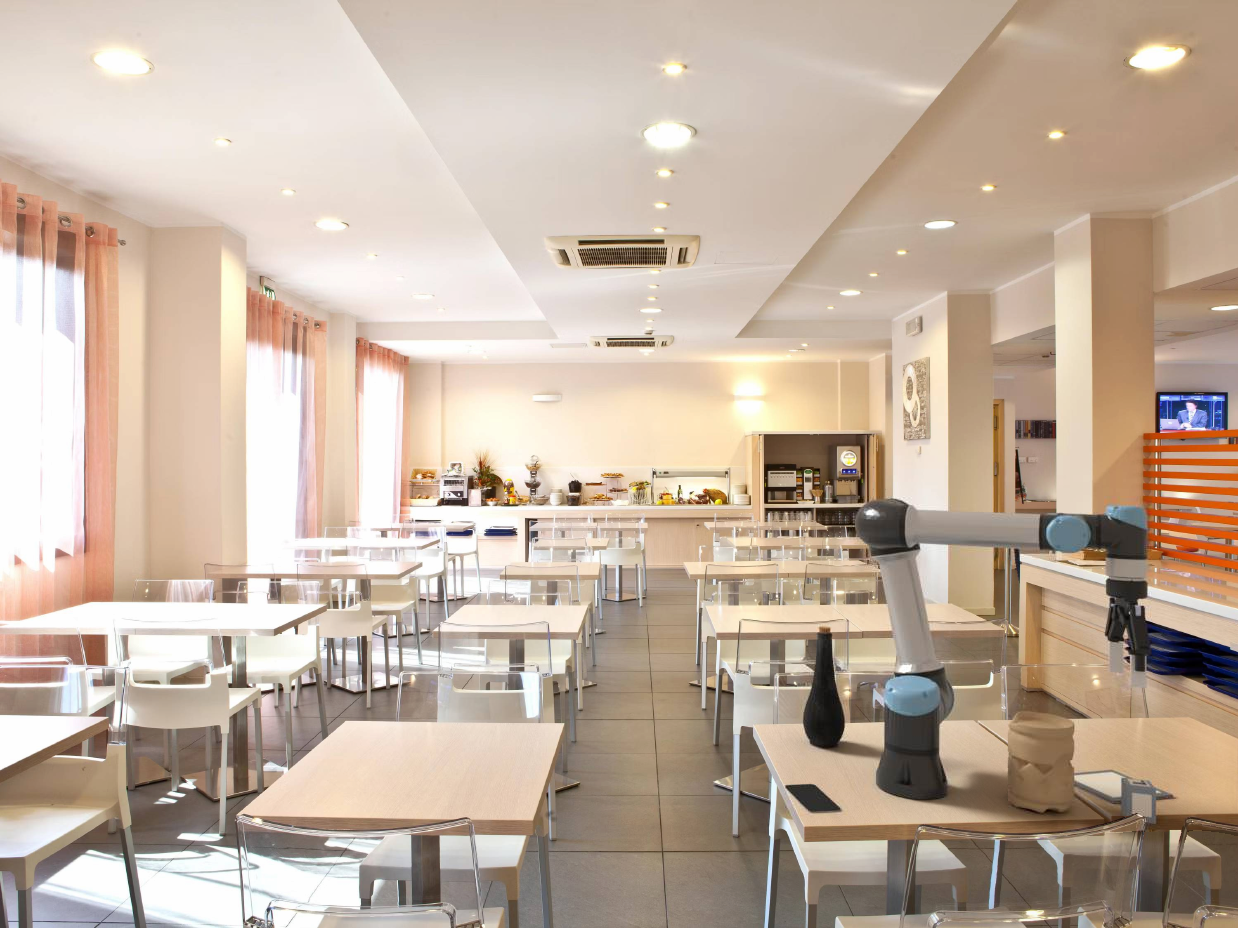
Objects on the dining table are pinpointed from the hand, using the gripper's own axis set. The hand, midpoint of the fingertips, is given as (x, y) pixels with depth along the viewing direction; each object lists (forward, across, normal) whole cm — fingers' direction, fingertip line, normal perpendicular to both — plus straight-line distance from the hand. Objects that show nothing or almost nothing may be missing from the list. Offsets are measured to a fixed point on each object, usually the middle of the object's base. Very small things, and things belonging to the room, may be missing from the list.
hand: (1126, 679), depth 173 cm
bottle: (+27, +25, +62) cm, 72 cm away
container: (+27, -3, +17) cm, 32 cm away
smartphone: (+27, -14, +64) cm, 71 cm away
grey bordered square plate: (+27, +13, -1) cm, 30 cm away
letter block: (+27, -5, -1) cm, 27 cm away
